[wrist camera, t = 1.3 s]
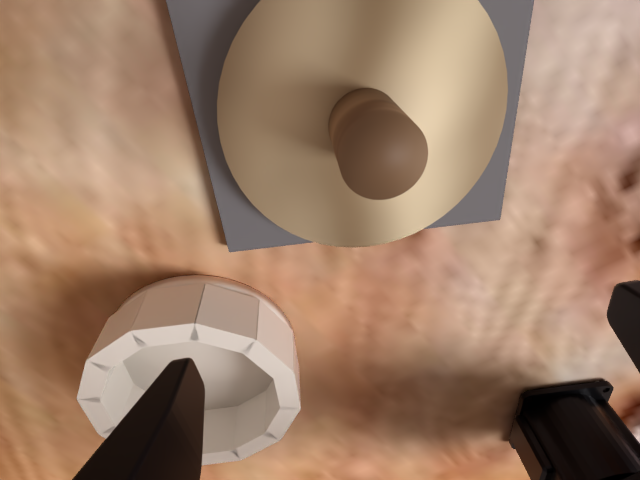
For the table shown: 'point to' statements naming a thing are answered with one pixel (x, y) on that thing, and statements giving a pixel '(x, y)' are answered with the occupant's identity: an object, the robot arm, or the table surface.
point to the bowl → (200, 361)
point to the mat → (203, 83)
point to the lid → (361, 113)
